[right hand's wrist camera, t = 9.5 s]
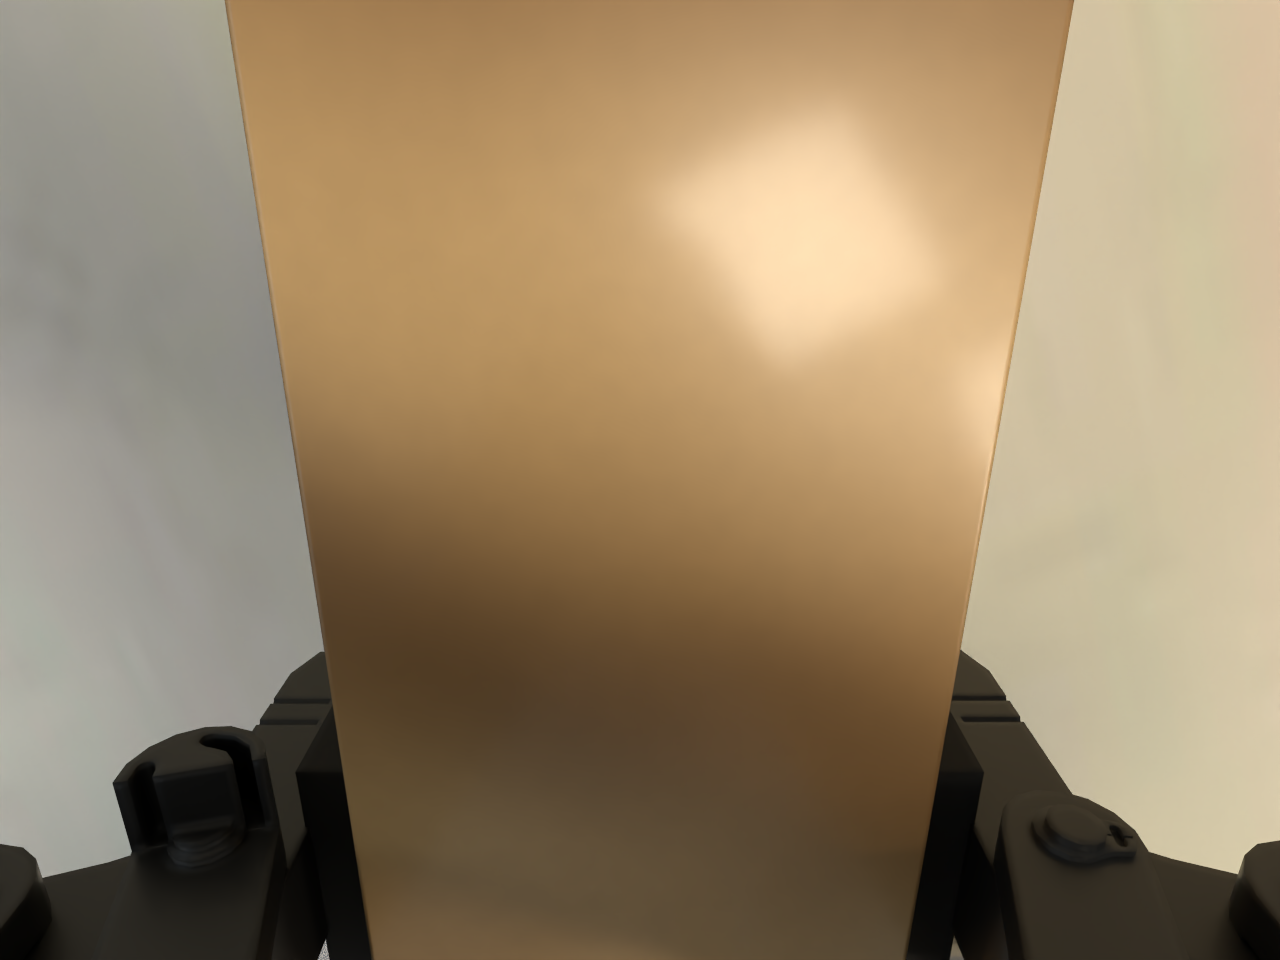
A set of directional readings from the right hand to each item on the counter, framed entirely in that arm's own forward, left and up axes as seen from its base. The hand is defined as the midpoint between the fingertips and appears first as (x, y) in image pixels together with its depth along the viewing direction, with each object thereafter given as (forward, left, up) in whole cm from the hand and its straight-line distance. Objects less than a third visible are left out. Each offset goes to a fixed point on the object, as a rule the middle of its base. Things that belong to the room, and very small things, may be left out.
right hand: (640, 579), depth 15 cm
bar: (+16, -29, -1) cm, 33 cm away
